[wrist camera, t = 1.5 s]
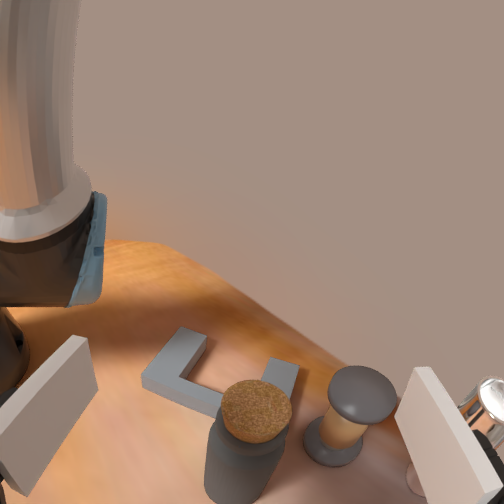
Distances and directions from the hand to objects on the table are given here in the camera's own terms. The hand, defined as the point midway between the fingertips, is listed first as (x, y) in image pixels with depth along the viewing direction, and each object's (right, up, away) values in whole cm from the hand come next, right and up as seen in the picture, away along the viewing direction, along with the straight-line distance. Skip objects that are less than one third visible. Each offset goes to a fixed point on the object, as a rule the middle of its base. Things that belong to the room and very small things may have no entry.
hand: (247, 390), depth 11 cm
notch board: (-4, -12, +27) cm, 29 cm away
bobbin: (+9, -17, +20) cm, 28 cm away
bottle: (-2, -18, +15) cm, 23 cm away
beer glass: (+21, -22, +15) cm, 34 cm away
